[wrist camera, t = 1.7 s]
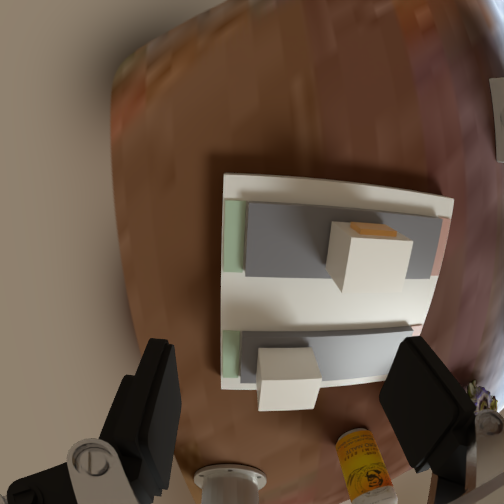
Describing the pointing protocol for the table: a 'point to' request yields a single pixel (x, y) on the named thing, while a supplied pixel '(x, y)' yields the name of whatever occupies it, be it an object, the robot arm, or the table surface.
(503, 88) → the skincare box
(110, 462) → the robot arm
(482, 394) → the passion flower
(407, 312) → the panel
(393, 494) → the beer can
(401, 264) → the block
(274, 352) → the block
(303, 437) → the table surface
